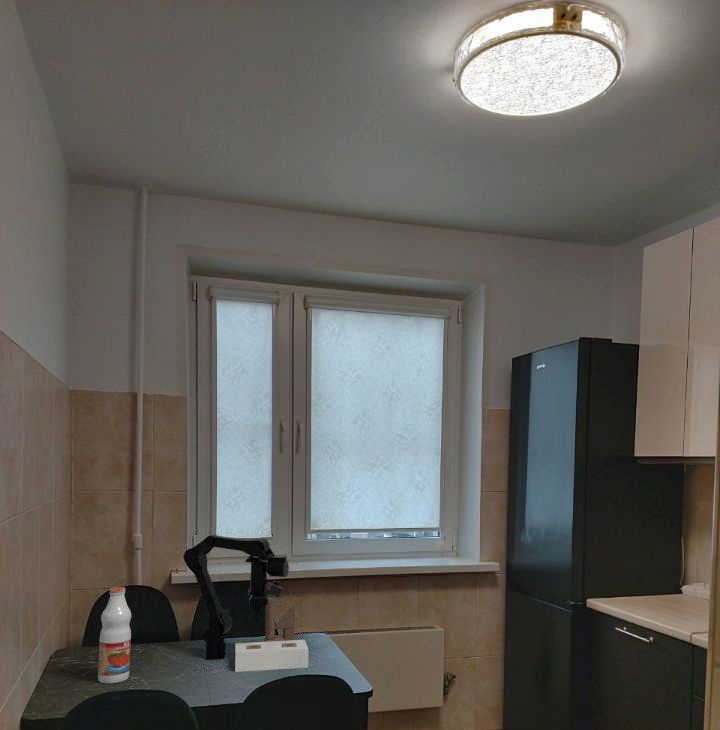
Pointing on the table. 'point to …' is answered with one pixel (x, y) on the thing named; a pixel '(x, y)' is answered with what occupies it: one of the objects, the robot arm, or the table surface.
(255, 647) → the left peg
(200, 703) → the table surface
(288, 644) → the right peg
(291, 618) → the wooden block
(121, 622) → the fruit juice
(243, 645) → the white peg base
